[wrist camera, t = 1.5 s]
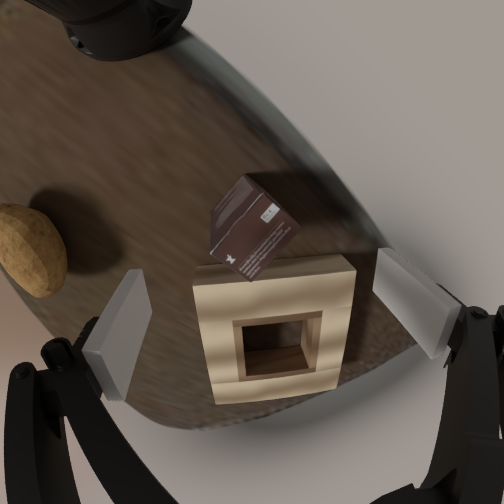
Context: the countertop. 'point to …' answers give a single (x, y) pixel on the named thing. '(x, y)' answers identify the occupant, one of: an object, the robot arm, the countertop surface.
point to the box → (249, 228)
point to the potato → (32, 250)
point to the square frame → (275, 311)
